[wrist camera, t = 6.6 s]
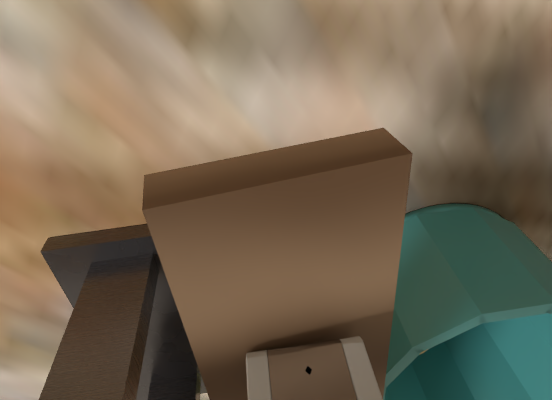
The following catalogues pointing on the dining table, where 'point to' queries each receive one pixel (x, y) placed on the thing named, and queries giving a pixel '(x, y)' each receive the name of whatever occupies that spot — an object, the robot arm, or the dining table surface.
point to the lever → (283, 250)
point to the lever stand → (118, 322)
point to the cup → (469, 310)
